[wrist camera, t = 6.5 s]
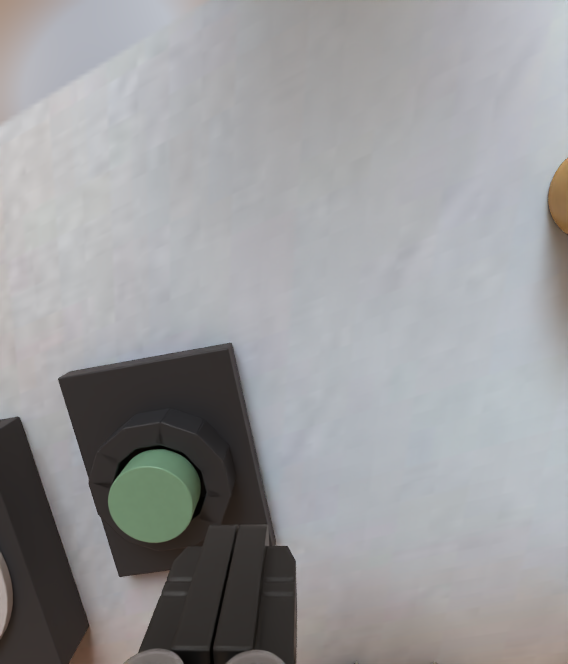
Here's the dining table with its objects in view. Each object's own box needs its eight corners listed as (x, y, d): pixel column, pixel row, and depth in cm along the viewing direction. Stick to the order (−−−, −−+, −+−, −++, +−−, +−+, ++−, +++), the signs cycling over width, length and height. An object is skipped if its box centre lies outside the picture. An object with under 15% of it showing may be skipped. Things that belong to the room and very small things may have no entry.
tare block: (69, 371, 24) (36, 390, 21) (231, 342, 24) (221, 358, 21) (126, 562, 27) (105, 603, 24) (276, 541, 26) (272, 580, 23)
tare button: (113, 454, 22) (97, 473, 21) (191, 442, 22) (181, 460, 20) (133, 525, 23) (120, 549, 21) (209, 514, 23) (201, 537, 21)
